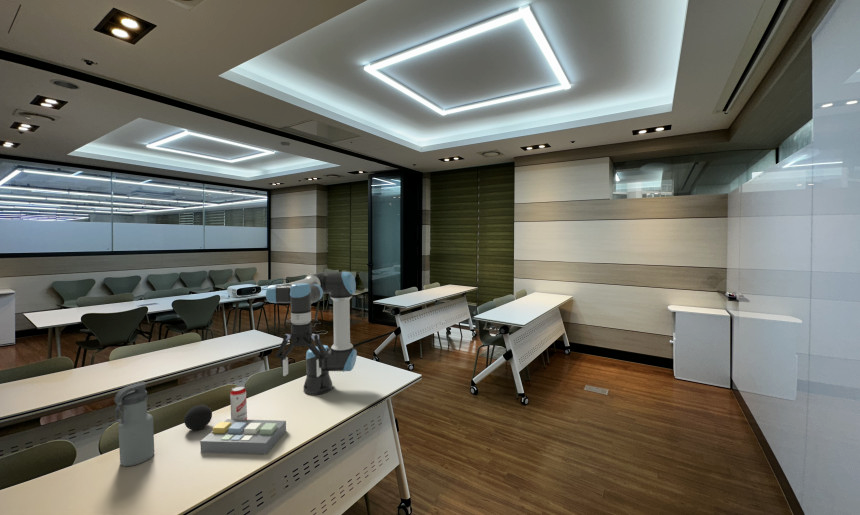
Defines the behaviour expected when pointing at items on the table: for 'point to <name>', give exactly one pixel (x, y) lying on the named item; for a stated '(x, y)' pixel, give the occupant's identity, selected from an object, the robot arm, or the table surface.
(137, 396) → the water bottle
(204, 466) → the table surface
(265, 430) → the key sage
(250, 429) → the key ivory
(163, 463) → the table surface
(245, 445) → the keypad
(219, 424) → the key mustard
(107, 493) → the table surface
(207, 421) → the speaker
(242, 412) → the beer can
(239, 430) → the key slate
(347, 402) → the table surface
